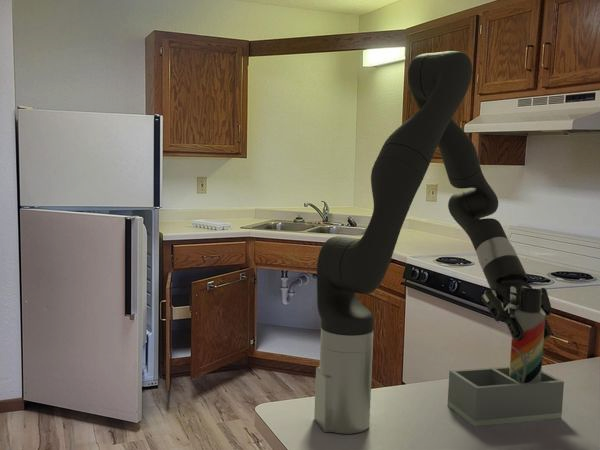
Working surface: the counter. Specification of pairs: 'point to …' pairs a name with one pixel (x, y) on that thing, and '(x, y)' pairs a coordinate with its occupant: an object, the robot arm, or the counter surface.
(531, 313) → the lotion bottle
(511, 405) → the box
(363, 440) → the counter surface
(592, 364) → the counter surface
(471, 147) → the robot arm
